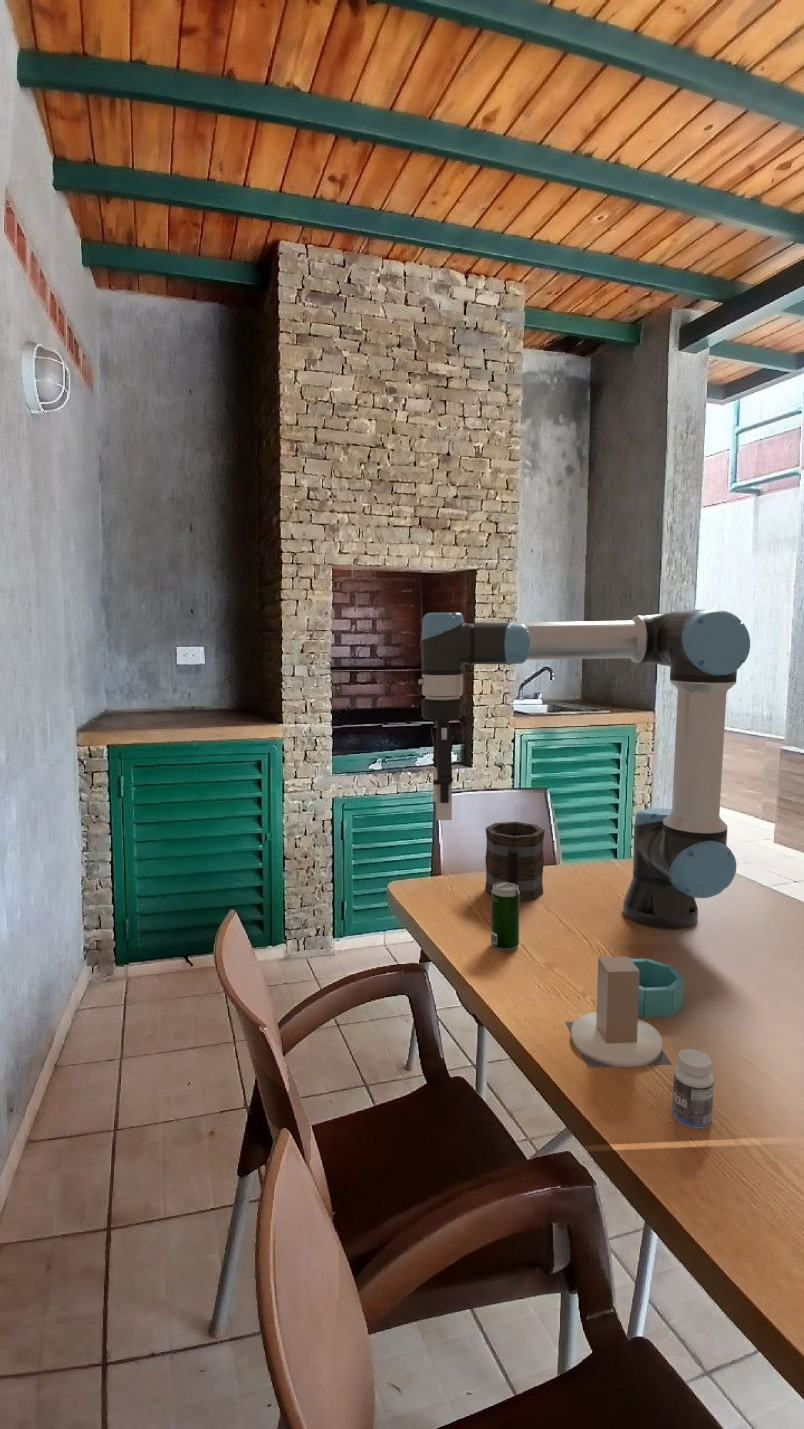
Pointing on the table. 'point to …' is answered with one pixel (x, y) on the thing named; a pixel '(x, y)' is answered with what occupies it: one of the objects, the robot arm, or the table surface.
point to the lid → (617, 1020)
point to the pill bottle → (693, 1089)
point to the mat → (591, 1063)
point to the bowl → (658, 989)
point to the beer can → (505, 916)
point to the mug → (515, 858)
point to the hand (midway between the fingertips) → (441, 810)
